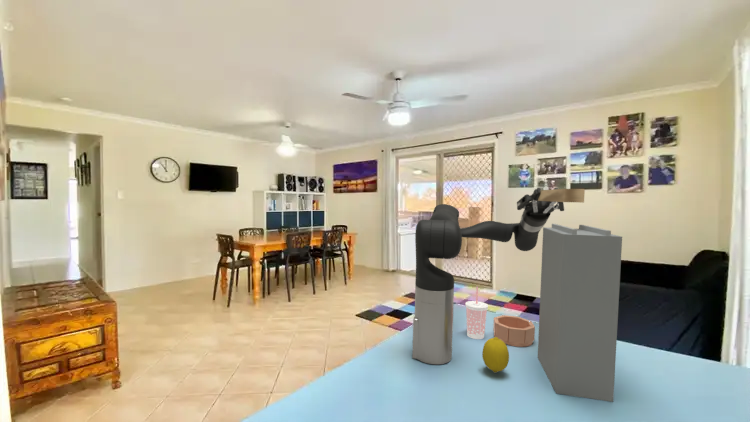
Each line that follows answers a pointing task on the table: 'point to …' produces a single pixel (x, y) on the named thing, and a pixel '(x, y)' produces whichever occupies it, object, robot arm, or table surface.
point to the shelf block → (579, 310)
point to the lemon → (495, 354)
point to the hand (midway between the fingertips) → (548, 190)
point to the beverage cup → (476, 318)
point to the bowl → (514, 330)
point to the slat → (562, 195)
